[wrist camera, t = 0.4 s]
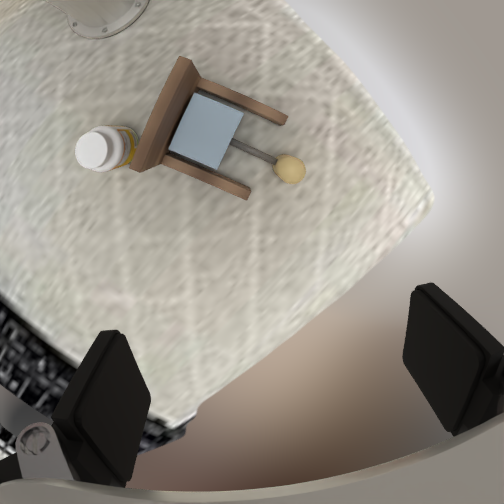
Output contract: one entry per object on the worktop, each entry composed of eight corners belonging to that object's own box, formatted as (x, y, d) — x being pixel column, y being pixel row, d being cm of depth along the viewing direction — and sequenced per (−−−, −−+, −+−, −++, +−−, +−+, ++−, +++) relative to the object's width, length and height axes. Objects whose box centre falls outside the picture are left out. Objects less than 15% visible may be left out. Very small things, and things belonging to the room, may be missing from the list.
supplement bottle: (96, 155, 37) (62, 162, 28) (114, 119, 36) (82, 116, 26) (128, 172, 38) (99, 184, 29) (147, 137, 37) (122, 138, 28)
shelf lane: (158, 158, 38) (129, 168, 27) (194, 78, 35) (179, 55, 23) (245, 195, 40) (251, 220, 29) (284, 117, 37) (305, 110, 26)
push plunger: (176, 147, 37) (166, 149, 32) (199, 97, 35) (193, 91, 30) (282, 194, 40) (290, 204, 35) (306, 147, 38) (318, 149, 33)
